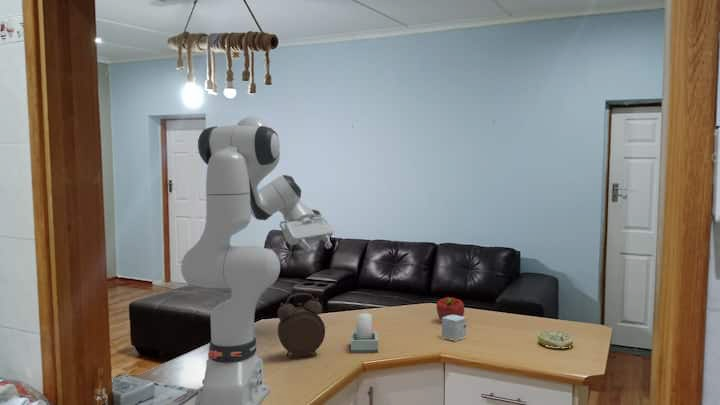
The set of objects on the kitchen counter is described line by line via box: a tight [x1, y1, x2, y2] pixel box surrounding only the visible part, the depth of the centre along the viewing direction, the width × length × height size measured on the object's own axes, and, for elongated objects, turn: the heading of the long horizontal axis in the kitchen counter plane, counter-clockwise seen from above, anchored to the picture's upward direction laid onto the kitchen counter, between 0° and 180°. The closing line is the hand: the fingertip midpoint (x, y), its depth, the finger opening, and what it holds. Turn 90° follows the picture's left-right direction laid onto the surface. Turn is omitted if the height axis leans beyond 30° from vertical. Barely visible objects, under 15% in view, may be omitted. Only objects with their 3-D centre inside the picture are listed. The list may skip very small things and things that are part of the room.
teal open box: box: [350, 331, 379, 354], centre depth 172 cm, size 9×9×4 cm
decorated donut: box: [537, 330, 574, 348], centre depth 173 cm, size 10×11×4 cm
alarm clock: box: [276, 292, 326, 359], centre depth 165 cm, size 14×7×20 cm, turn 111°
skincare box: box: [441, 314, 467, 340], centre depth 181 cm, size 6×6×7 cm
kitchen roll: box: [355, 312, 373, 340], centre depth 171 cm, size 5×5×10 cm
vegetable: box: [436, 296, 465, 322], centre depth 198 cm, size 11×10×10 cm
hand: (320, 249), depth 179 cm, fingers open, 8 cm apart
